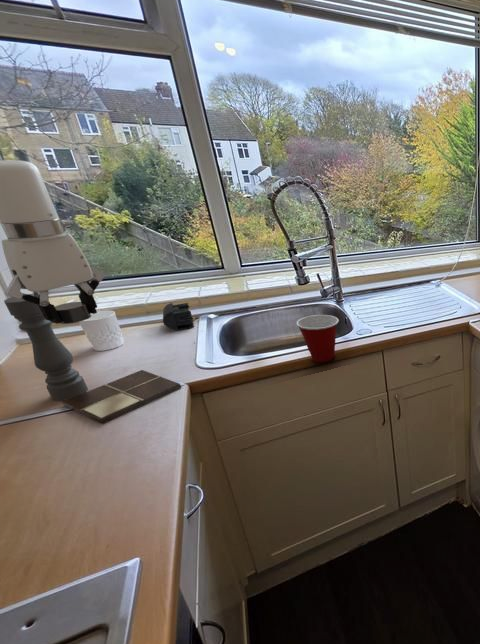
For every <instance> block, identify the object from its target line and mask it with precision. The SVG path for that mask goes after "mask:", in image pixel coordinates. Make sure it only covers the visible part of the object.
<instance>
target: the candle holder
mask: <svg viewBox="0 0 480 644" xmlns="http://www.w3.org/2000/svg"><path fill="white" fill-rule="evenodd" d="M27 294H28V295H31V296H33V293H27ZM3 303H4V305H5V306H6V308H7V310H8V312H9V314H10V316H11V317H12V316H13V318H14V319H16V320H18V322H20V324H19V325H18V329H20V330H21V331H24V332H26V334H27V336H28V338H29V340H30V342H31V345H32V354H33V362H34V366H35V368H37V369H38V370H39V371H42V372H44V374H45V375H46V378H45V380H44V382H45V384H46V389H47V391H48V393H49V395H50V397H51V400H52V401H56V402H62V401H65V400H67V399H70V398H72V397H75V396H78V395H80V394H83V393H85V392H88V391H89V388H88V385H87V383H86V381H85V379H84V378H83V376H82V375H80V372H79V371H78V370H76V369H75V368H72V367H73V366H72V364H73V361H74V357H73V354H72V353H71V352H70V350H69V349H68V348H67V347H66V346H65V345H64V344H63V343H62V342H61V340H60V339H58V337H57V336H56V334H55V332H54V330H53V327H52V324H54V323H53V322H50V321H48V320H46V319H45V318H44V316H43V314H42V312H41V310H40V308H39V306H38V305H37V304H34V303H31V302H28V301H25V300H21V299H17V298H13V297H9V298H6V299H4V300H3Z"/></svg>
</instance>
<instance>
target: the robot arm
mask: <svg viewBox="0 0 480 644" xmlns="http://www.w3.org/2000/svg"><path fill="white" fill-rule="evenodd" d="M0 226H1V228H2V230H3V232H4V235H5V236H6V239H2V240H1V245H2V250H3V254H4V257H5V261H6V265H7V267H8V269H9V272H10V275H11V278H12V279H11V281H10V283H9V284H8V286H7V288H6V290H5V291H4V295H5V296H7V297H9V298H11V297H13V298H17V299H21V300H25V301H28V302H31V303H34V304H37V305H38V306H39V308H40V310H41V312H42V314H43V316H44V318H45V319H46V320H48V321H50V322H53V323H52V324H55V325H58V324H60V323H61V322H62V321H61V319H60V317H59V315H58V313H57V311H56V308H55V306H56V305H55V304H53V303H51V302H50V300H49V299H50V298H49V295H50V294H49V291H50V290H55V289H60V288H64V287H69V286H74V287H75V288H76V289H77V290H78V291H79V294H78V299H79V302H86V304H87V306H88V309H89V311H90V313H93V314H95V313H97V311H98V310H97V308H98V304H97V302H96V300H95V298H94V295H95V291H96V289H97V288H98V287H99V285H100V283H102V281H103V280H104V279H105V277H106V276H107V274H106V272H104V271H102V270H100V269H98V268H96V267H94V266H92V265H91V264H90V263H89V262H88V260H87V258H86V256H85V254H84V253H83V250H82V249H81V247H80V246H79V244H78V243H77V241H76V240H75V239H74V237H73V236H72V234H71V233H70V232H66V231H67V230H66V228H68V227H72V222H71V221H70V220H69V219H62V218H61V217H59V214H58V212H57V210H56V208H55V205H54V203H53V200H52V198H51V196H50V193H49V191H48V189H47V187H46V184H45V182H44V179H43V177H42V174H41V172H40V170H39V168H38V167H37V166H36V165H35V164H34V163H33V162H31V161H27V160H20V159H19V160H17V159H16V160H15V159H14V160H12V159H11V160H10V159H8V160H7V159H6V160H5V159H2V160H1V159H0ZM21 290H27V291H29V292H32V294H33V296H31V295H28V294H29V293H25V292H21Z"/></svg>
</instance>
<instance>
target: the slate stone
mask: <svg viewBox="0 0 480 644" xmlns="http://www.w3.org/2000/svg"><path fill="white" fill-rule="evenodd" d="M54 306H55V308H56V311H57V313H58V315H59V317H60V319H61V321H62V322H61V323H59V324H60V325H67V324H69V325H70V324H75V323H79V322H80V321H84V320H86V319H89V318H90V317H91V313H90V311H89V309H88V306H87V304H86V302H81V301H72V302H65V303H61V304H58V305H54Z"/></svg>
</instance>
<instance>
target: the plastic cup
mask: <svg viewBox="0 0 480 644" xmlns="http://www.w3.org/2000/svg"><path fill="white" fill-rule="evenodd" d="M339 322H340V319H339V318H338V317H337V316H334V315H330V314H329V315H328V314H314V315H308V316H304V317H302V318H299V319H298V320H297V321H296V327H298V328H299V330H300V332H301V335H302V337H303V339H304V342H305V345H306V347H307V350H308V352H309V354H310V356H311V358H312V360H313V362H315V363H326V362H329V361H331V360H333V359H334V358H335V354H336V352H335V351H336V338H337V337H336V335H337V333H336V332H337V327H338V323H339Z"/></svg>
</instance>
